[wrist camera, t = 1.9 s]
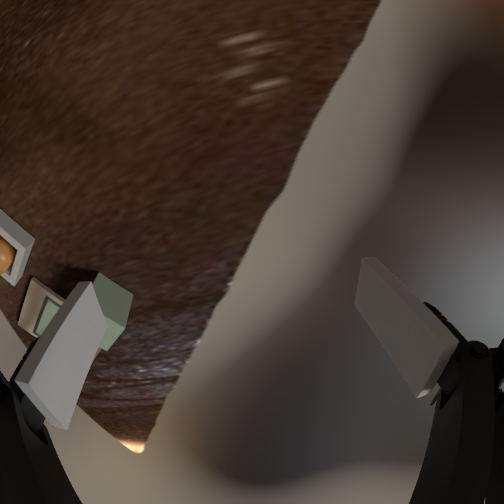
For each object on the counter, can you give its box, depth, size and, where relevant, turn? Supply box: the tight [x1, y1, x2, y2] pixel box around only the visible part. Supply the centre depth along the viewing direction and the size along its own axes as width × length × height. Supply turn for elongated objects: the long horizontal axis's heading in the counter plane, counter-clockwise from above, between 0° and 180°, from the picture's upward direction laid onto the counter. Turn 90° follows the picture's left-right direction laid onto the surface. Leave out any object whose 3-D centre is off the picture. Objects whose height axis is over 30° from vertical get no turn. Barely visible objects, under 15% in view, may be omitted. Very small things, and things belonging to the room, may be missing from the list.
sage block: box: [92, 272, 133, 351], centre depth 33 cm, size 6×6×7 cm
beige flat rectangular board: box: [18, 277, 102, 360], centre depth 36 cm, size 16×13×1 cm
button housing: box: [0, 209, 35, 286], centre depth 27 cm, size 8×8×3 cm
